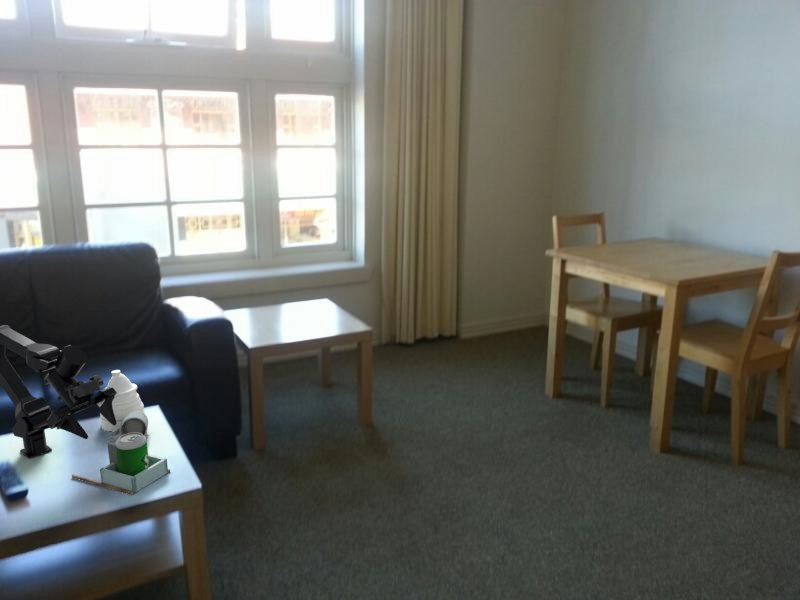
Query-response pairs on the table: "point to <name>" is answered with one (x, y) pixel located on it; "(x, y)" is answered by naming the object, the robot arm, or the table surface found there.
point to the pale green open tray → (131, 482)
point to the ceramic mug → (132, 424)
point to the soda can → (132, 453)
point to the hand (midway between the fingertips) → (101, 431)
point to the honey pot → (122, 400)
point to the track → (106, 484)
